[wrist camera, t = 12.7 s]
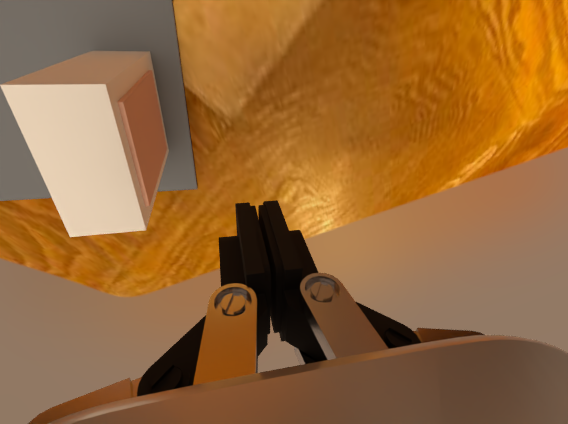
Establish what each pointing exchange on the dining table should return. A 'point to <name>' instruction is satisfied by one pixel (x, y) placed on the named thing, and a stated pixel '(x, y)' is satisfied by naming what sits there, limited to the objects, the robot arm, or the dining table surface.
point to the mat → (79, 40)
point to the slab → (95, 137)
